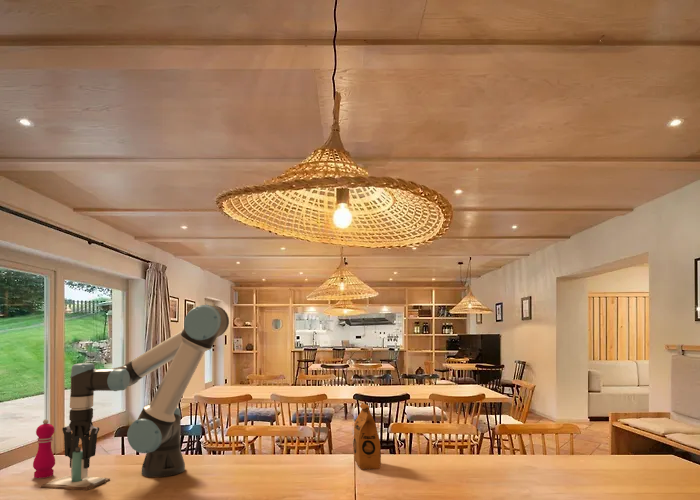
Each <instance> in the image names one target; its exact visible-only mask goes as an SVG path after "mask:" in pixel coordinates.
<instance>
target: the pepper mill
mask: <svg viewBox="0 0 700 500" xmlns="http://www.w3.org/2000/svg"><path fill="white" fill-rule="evenodd" d="M54 434H55V427H54V425H53V424H50V423H49V420H48V419H43V420H42V424H40V425H38V427H37V428H36V430H35V435H36V436H37V441H36V442H37V443H38V447H37V452H36V455H35V457H34V459H33V462H32V468H33V469H34V470H35V471H34V472H33V478H34V479H47V478H50V477H53V476H54V472H55V471H54V469H53V468H54V467H55V465H56V458H55V456H54V452H53V450H52V441H54V440H53V438H54V437H53V435H54Z"/></svg>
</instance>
